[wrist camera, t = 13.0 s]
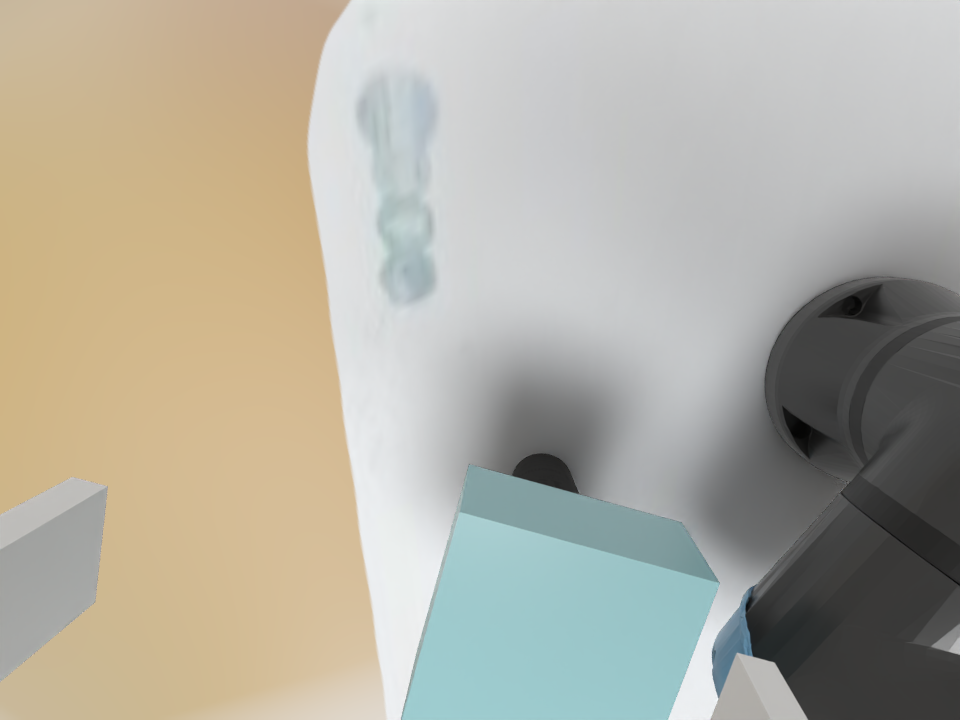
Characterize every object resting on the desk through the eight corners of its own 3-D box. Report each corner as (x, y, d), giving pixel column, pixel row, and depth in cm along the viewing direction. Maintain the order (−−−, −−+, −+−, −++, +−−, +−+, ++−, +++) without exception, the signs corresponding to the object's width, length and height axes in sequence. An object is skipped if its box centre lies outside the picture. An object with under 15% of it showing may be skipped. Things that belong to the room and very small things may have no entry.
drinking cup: (595, 518, 48) (640, 709, 29) (503, 529, 49) (485, 721, 29) (582, 430, 47) (620, 566, 27) (488, 443, 48) (458, 584, 28)
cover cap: (681, 522, 32) (719, 583, 26) (615, 706, 34) (636, 801, 28) (469, 464, 32) (459, 511, 26) (416, 652, 34) (397, 735, 28)
